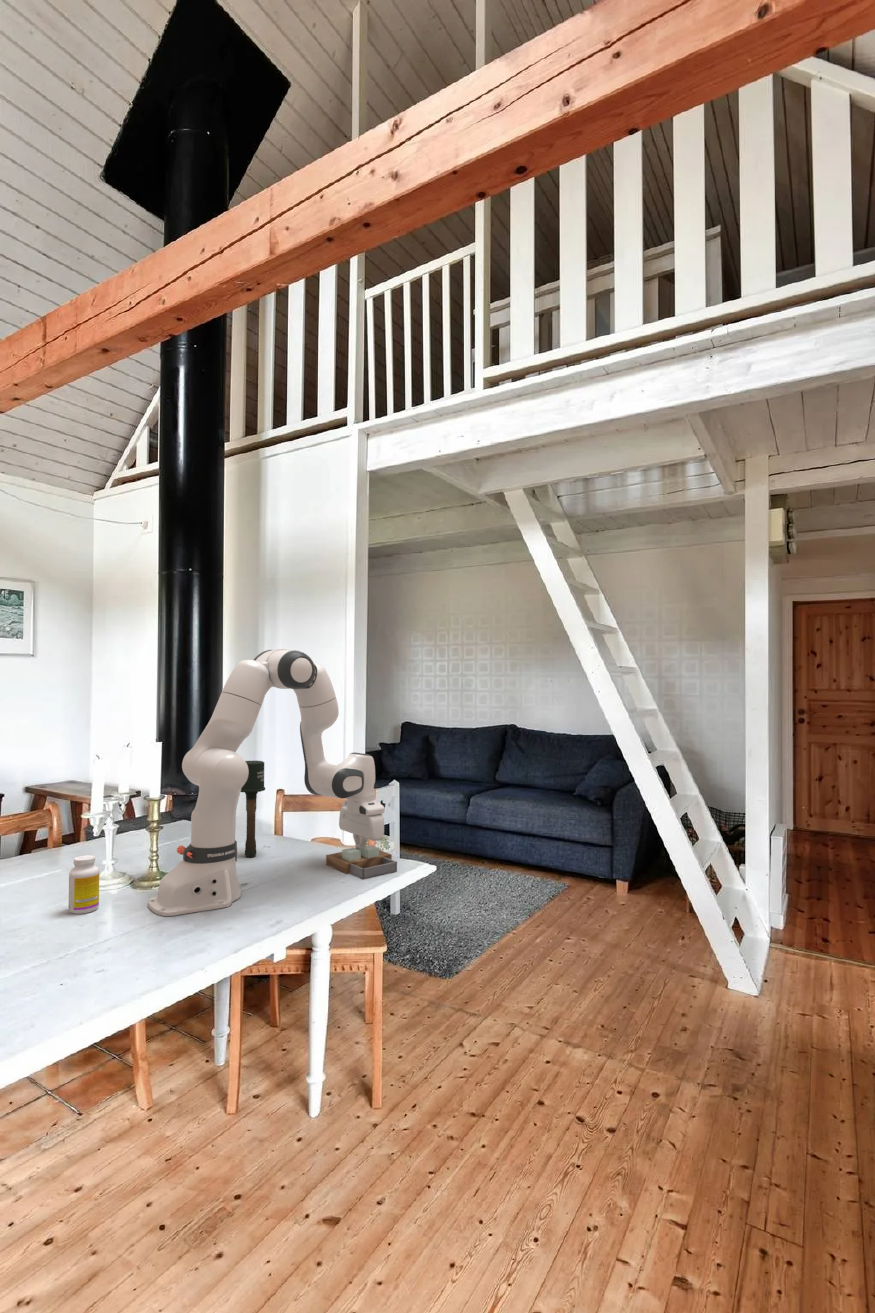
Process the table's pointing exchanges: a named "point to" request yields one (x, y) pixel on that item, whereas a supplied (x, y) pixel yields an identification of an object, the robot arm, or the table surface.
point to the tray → (374, 869)
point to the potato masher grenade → (252, 802)
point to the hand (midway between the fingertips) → (360, 849)
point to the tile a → (351, 854)
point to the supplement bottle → (84, 885)
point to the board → (354, 861)
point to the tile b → (369, 851)
